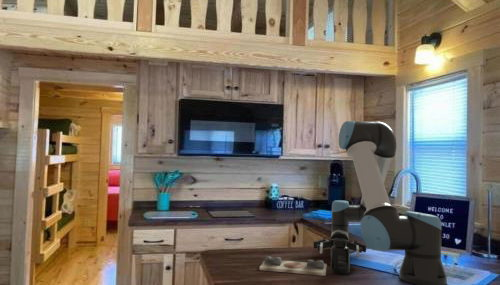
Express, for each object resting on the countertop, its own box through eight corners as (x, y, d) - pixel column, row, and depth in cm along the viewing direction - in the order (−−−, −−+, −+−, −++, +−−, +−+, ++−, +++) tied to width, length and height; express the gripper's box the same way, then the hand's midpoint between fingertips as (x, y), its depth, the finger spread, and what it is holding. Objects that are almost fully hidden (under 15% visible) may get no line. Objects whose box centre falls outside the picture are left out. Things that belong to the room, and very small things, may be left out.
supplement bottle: (352, 271, 145) (352, 238, 146) (346, 276, 140) (346, 242, 140) (334, 268, 149) (334, 236, 149) (327, 272, 143) (328, 239, 144)
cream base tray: (326, 266, 151) (326, 257, 151) (325, 275, 140) (325, 266, 140) (265, 261, 157) (265, 253, 157) (259, 269, 145) (259, 260, 145)
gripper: (370, 250, 165) (373, 264, 145) (310, 246, 171) (305, 258, 150) (370, 232, 166) (374, 243, 145) (310, 229, 171) (305, 239, 151)
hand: (339, 251), depth 148 cm, fingers open, 13 cm apart
